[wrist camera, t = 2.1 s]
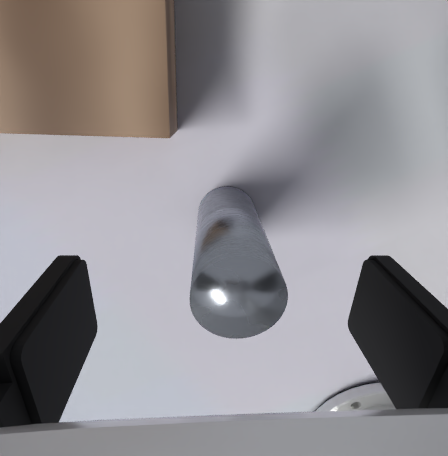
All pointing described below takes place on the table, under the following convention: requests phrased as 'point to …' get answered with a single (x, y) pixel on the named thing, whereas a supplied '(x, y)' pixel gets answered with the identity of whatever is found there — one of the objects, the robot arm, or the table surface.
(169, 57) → the socket block
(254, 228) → the pin
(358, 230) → the table surface
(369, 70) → the table surface
